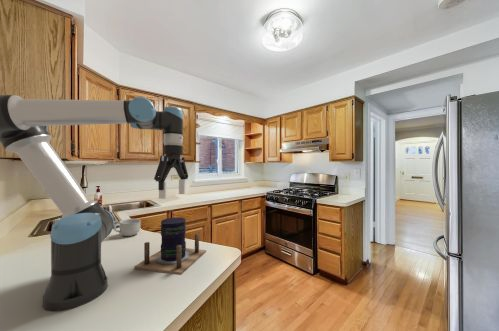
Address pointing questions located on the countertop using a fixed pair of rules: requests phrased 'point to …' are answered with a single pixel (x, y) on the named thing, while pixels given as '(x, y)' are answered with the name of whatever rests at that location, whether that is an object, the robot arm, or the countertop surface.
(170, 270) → the walnut stand
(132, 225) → the teacup
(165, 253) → the storage jar
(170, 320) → the countertop surface
